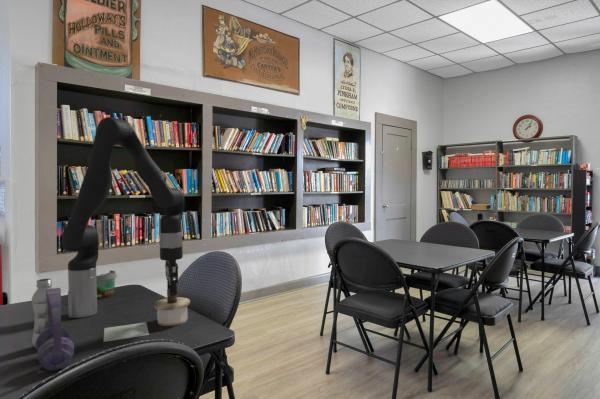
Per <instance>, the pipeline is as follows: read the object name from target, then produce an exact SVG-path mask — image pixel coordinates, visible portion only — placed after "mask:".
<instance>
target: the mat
mask: <svg viewBox="0 0 600 399" xmlns="http://www.w3.org/2000/svg"><path fill="white" fill-rule="evenodd" d="M148 329H149V328H148V324H147V322H139V323H138V322H137V323H134V324H133V323H131V324H125V325H118V326H110V327H109V326H108V327H104V328H103V330H104V331H103V342H104V343H105V342H112V341H113V342H114V341H118V340H124V339H132V338H138V337H144V336H149V335H150V333H149V330H148Z"/></svg>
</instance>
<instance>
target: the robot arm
mask: <svg viewBox="0 0 600 399" xmlns="http://www.w3.org/2000/svg"><path fill="white" fill-rule="evenodd" d="M115 145H116V146H121V147H122V148H123V149H124V150H125V151H126V152H127V153H128V155H130V158H131V160H132V164H133V167H134V170H135V171H136V173H137V175H138V177H139V178H140V179H141V181H143V183H144V184H145V185H146V186H147V188H148V190H149V193H150V195H151V196H152V199H153V201H154V202H155V204H156V205H157V206H158V207H160V208H162V209H165V213H164V215H162V216H161V217H160V218H159V219H160V220H159V226H160V227H159V228H160V229H159V230H160V231H159V232H160V233H159V234H160V235H159V259H160V260H161V261H165V262H164V269H165V272H164V273H165V278H166V279H165V280H167V281H166V283H167V284H166V286H167V289H170V295H171V296H175V295H177V296H178V288H177V287H178V286H177V285H178V284H179V264H178V263H177V260H181V259H182V258H183V257H184V256H183V252H184V251H183V235H182V234H183V233H182V218H183V213H184V210H185V209H184V207H185V202H186V201H185V194H184V193H183V191H182V190H181V189H179V188H176V187H169V186H168V185H167V177H166V175H165V173H164V172H163V171H162V169H161V168H160V167H159V166H158V165H157V164H156V162H155V160H153V158H152V157H151V156H150V154H149V152H148V151H147V149H146V148H145V147H144V145H143V142H142V141H141V140H140V138H139V136H138V134H137V132H136V130H135V129H134V127H133V126H132V125H131V123H130V122H128V121H127V120H125V119H120V118H116V117H110V116H107V117H104V118H102V119H101V120H100V121H99V123H98V125H97V128H96V131H95V135H94V140H93V145H92V149H91V154H90V158H89V160H88V164H87V168H86V170H85V174H84V176H83V179H82V181H81V185H80V187H79V188H80V189H79V192H78V196H77V198H76V201H75V204H74V206H73V210H72V211H71V214H70V217H69V218H68V221H67V223H66V224H65V227H64V229H63V231H62V236H61V244H62V248H63V249H64V250H65V251H67V252H70V253H74V252H76V255H75V256H74V257H73V258H72V259H71V260H69V261H68V263H67V280H68V291H67V309H68V312H67V314H68V316H67V317H68V319H70V318H73V319H74V318H75V319H76V318H78V319H79V318H87V317H91V316H94V315H96V314H97V313H98V299H97V281H96V276H97V261H98V260H99V247H100V246H99V244H100V241H99V240H100V239H99V233H98V230H97V229H96V228H95V227H94V225H91V224H88V223H89V221H90V219H91V218H92V216H93V215H94V214H95V213H96V211H98V210H99V208H100V207H101V206H102V205H103V204H104V202H105V201H106V200H107V198H108V195H109V193H110V191H111V190H110V189H111V187H112V183H113V173H112V168H111V156H112V154H113V150H114V148H115ZM167 289H166V290H167Z"/></svg>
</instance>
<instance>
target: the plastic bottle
mask: <svg viewBox="0 0 600 399" xmlns="http://www.w3.org/2000/svg"><path fill="white" fill-rule="evenodd" d="M35 286H36V288H37V289H36V290H35V292H34V293H33V295H32V297H31V304H32V309H33V317H34V318H33V319H34V323H33V333H32V337H31V342H32V345H33V347H34V348H35V349H36V340H37V338H38V336H39V335H40V334H41V333H42V332H43V331H44V330H46V329H48V305H47V296H46V291H45V290H46V289H53V287H52V286H53V283H52V278H40V279H37V280H36V285H35Z"/></svg>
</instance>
